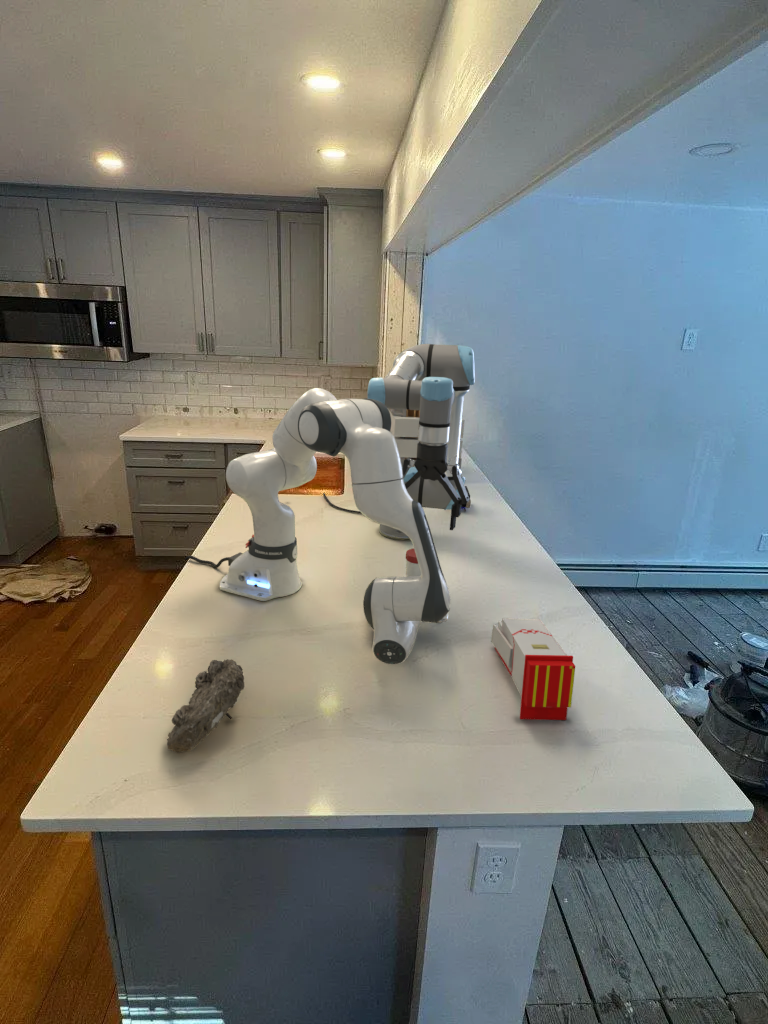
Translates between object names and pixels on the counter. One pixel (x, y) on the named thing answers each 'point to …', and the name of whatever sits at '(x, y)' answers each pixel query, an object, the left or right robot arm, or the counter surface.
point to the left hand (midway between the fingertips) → (412, 589)
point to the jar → (412, 569)
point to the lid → (411, 556)
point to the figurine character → (468, 501)
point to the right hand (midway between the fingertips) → (426, 523)
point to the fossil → (206, 705)
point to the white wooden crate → (410, 433)
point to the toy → (535, 667)
